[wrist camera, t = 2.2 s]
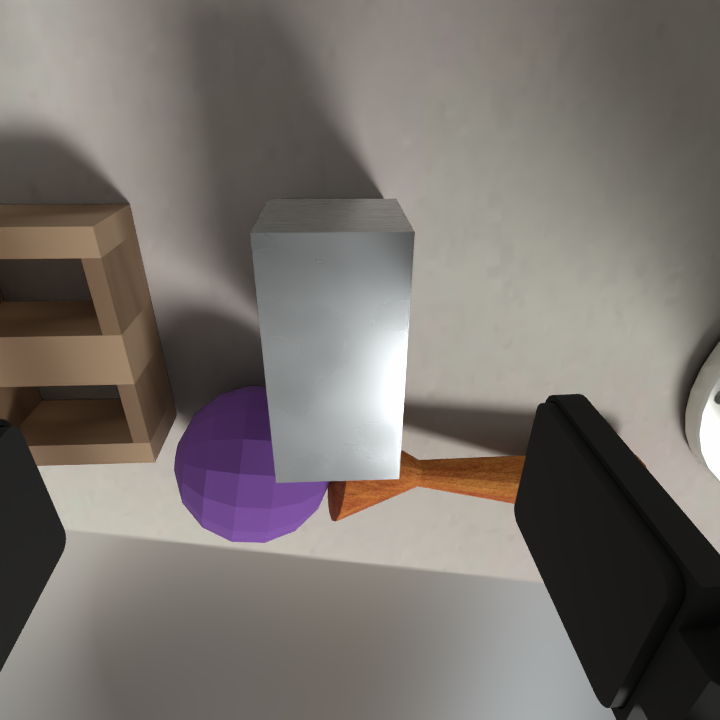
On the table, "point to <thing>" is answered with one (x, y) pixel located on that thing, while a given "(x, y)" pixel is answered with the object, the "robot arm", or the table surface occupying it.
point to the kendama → (299, 499)
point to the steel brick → (334, 334)
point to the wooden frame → (83, 340)
